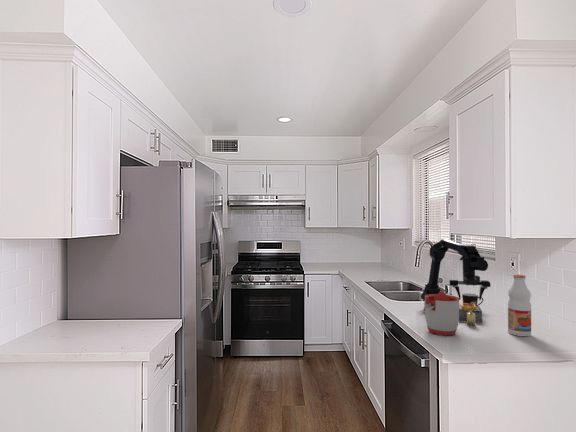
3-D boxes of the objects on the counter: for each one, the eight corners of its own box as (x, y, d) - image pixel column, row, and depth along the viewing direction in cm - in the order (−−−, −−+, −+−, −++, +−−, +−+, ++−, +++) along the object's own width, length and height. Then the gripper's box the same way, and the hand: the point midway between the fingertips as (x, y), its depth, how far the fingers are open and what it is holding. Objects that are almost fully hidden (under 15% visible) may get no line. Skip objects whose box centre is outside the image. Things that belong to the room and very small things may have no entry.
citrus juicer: (414, 330, 181) (414, 289, 181) (441, 326, 188) (441, 287, 188) (439, 339, 167) (439, 295, 167) (467, 335, 174) (467, 292, 174)
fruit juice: (516, 330, 182) (516, 273, 182) (535, 335, 173) (535, 275, 174) (503, 332, 178) (503, 274, 178) (523, 338, 169) (522, 277, 170)
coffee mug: (462, 312, 217) (462, 295, 217) (461, 309, 225) (461, 292, 225) (484, 314, 213) (484, 297, 213) (483, 311, 221) (483, 294, 221)
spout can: (466, 323, 193) (466, 309, 193) (474, 324, 191) (474, 310, 192) (467, 325, 189) (467, 311, 189) (475, 326, 188) (475, 311, 188)
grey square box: (455, 314, 211) (455, 301, 211) (479, 317, 207) (479, 303, 207) (457, 320, 200) (457, 306, 200) (482, 322, 196) (482, 308, 196)
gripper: (449, 270, 187) (450, 301, 186) (491, 271, 181) (492, 303, 180) (448, 268, 198) (449, 298, 197) (488, 269, 191) (489, 300, 190)
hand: (469, 299), depth 190 cm, fingers open, 9 cm apart
